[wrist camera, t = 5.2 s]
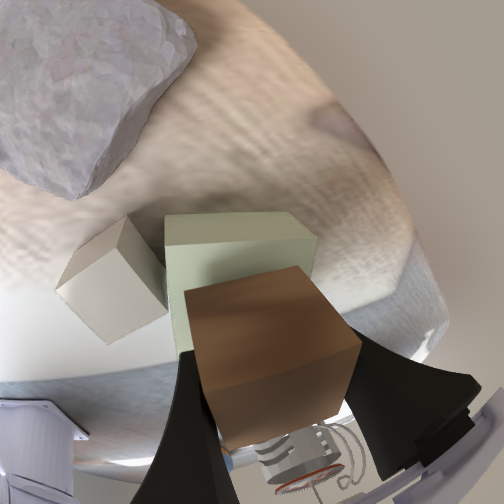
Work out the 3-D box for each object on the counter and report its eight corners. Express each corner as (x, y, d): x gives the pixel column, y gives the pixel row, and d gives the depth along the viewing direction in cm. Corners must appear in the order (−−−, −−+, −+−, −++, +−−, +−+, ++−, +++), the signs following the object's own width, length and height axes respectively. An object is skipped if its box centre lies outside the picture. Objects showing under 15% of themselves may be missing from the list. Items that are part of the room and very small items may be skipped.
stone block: (113, 191, 15) (214, 41, 11) (84, 235, 11) (214, 25, 7) (-17, 114, 9) (54, -28, 5) (-64, 137, 5) (11, -44, 1)
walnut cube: (205, 366, 14) (228, 450, 9) (183, 290, 11) (203, 393, 7) (295, 342, 15) (337, 414, 10) (297, 265, 12) (362, 342, 8)
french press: (220, 430, 26) (292, 613, 5) (273, 369, 23) (397, 605, 2) (288, 428, 31) (362, 577, 10) (344, 373, 27) (454, 544, 6)
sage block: (172, 315, 18) (177, 360, 14) (164, 213, 14) (164, 246, 11) (272, 304, 20) (294, 343, 16) (285, 209, 16) (317, 237, 13)
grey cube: (115, 299, 16) (108, 345, 12) (74, 251, 14) (54, 291, 10) (166, 268, 16) (168, 312, 12) (127, 214, 14) (115, 247, 10)
